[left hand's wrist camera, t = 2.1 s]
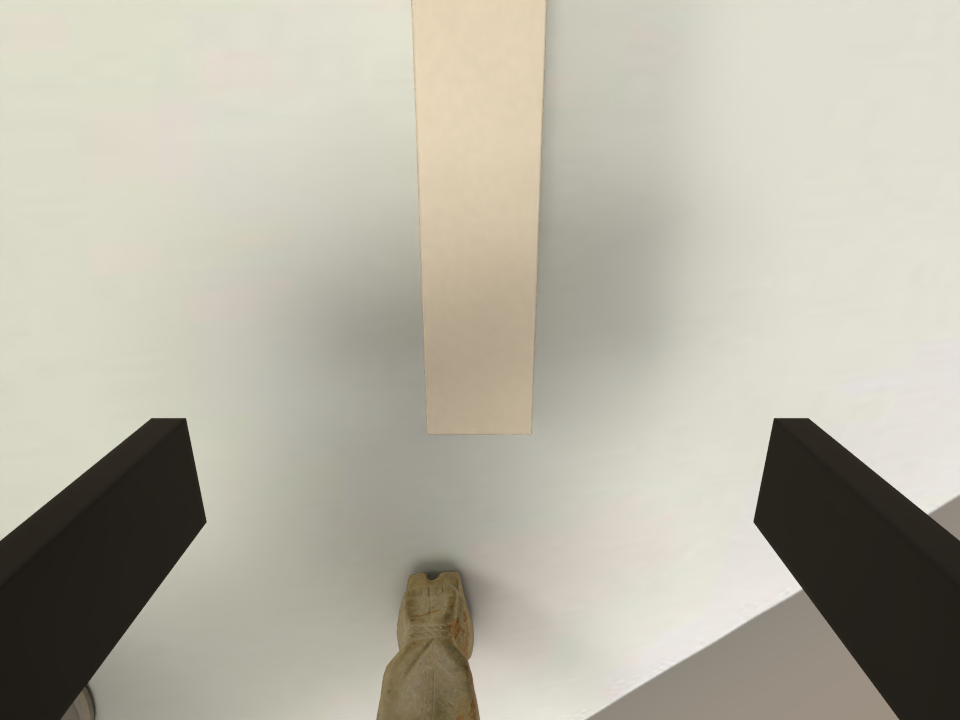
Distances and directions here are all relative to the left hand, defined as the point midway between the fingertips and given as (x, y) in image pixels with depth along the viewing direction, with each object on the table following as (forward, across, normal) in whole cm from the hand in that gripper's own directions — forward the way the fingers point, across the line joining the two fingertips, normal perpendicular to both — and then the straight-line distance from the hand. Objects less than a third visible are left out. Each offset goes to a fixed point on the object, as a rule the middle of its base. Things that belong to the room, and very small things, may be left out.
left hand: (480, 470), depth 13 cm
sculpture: (+21, +3, +23) cm, 31 cm away
